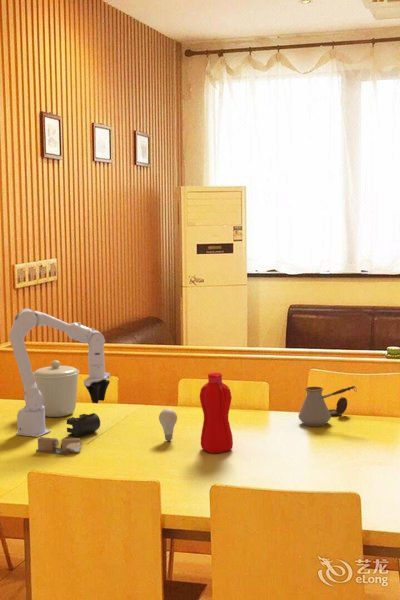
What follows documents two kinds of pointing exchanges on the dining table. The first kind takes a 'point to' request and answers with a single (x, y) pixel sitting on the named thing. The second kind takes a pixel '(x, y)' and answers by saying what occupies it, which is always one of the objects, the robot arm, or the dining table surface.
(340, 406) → the compass
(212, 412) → the water bottle
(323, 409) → the coffee pot
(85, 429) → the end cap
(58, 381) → the canister
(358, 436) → the dining table surface
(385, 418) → the dining table surface
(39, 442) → the shaft rig
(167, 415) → the lightbulb
